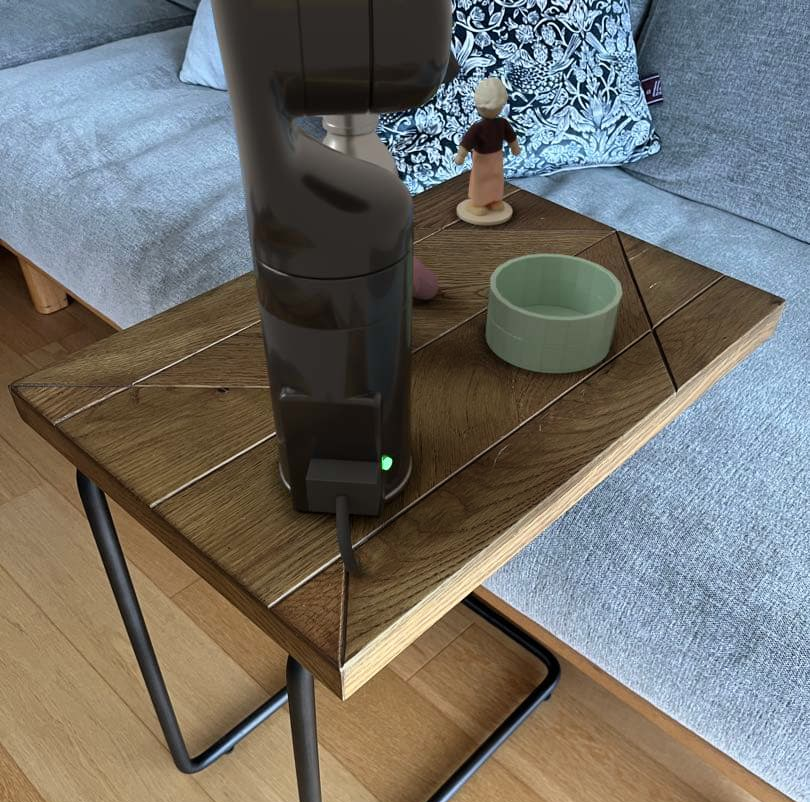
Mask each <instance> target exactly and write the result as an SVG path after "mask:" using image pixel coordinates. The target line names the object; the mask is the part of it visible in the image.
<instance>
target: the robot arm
mask: <svg viewBox="0 0 810 802" xmlns="http://www.w3.org/2000/svg"><path fill="white" fill-rule="evenodd" d="M210 5H211V12H212V18H213V25H214V31H215V35H216V40H217V45H218V50H219V55H220V60H221V65H222V70H223V75H224V80H225V86H226V91H227V95H228V102H229V106H230V111H231V117H232V122H233V123H232V124H233V129H234V134H235V140H236V146H237V152H238V159H239V165H240V173H241V179H242V186H243V187H242V188H243V195H244V202H245V203H244V204H245V210H246V213H245V214H246V220H247V221H246V222H247V228H248V229H247V230H248V231H247V232H248V239H249V246H250V252H251V259H252V266H253V274H254V282H255V288H256V297H257V306H258V312H259V320H260V327H261V335H262V342H263V343H262V344H263V349H264V356H265V364H266V370H267V378H268V386H269V387H268V388H269V392H270V399H271V408H272V415H273V422H274V430H275V437H276V443H277V450H278V451H277V452H278V458H279V465H278V467H279V475H280V480H281V483H282V486H283V487H284V489H285V491H286V492H287V494H288V495H290V499H291V507H292V510H293V511H297V512H310V513H326V514H335V523H336V524H335V525H336V527H335V528H336V537H337V544H338V551H339V554H340V558H341V560H342V563H343V566H344V569H345V571H346V572H348V573H352V572H355V571H356V570H358V569H359V565H358V563H357V559H356V555H355V553H354V549H353V545H352V539H351V529H350V515H356V516H370V517H371V516H372V517H381V516H383V514H384V509H385V506H386V505H387V504H389V503H390V502H392V501H393V500H395V499H396V498H397V497H398V496H400V495H401V494H402V492H403V491H404V490H405V489H406V487H407V486H408V484H409V482H410V480H411V477H412V474H413V473H412V472H413V471H412V470H413V457H412V376H413V375H412V371H413V370H412V367H413V365H412V361H413V298H414V297H413V257H414V249H415V248H414V247H415V246H414V240H415V205H414V201H413V197H412V194H411V191H410V188H408V186H407V185H406V183H405V182H404V181H403V180H402V179H401V178H400V177H399V178H398V177H397V176H396V175H395V174H393V173H392V172H390V171H388V170H387V169H385V168H383V167H380V166H378V165H376V164H373V163H371V162H368V161H365V160H362V159H359V158H356V157H353V156H351V155H348V154H345V153H342V152H340V151H338V150H335V149H333V148H331V147H329V146H327V145H325V144H324V143H322V142H323V141H320V140H319V139H317V138H316V137H315V136H313V135H311V134H310V133H309V132H308V131H306V130H305V129H304V128H303V127H302V126H301V125H300V124H299V123H298V121H297V119H299V118H300V119H301V118H305V117H306V118H323V117H326V116H351V115H366V113H368V114H369V115H370V114H378V115H386V114H387V115H388V114H394V113H399V112H406V111H410V110H414V109H418V108H420V107H423V106H424V105H426V104H428V102H430V101H431V100H432V99H433V98H434V97H435V96H436V95H437V93H438V91H439V90H440V87H441V86H442V84H445V85H448V84H451V83H452V82H454V81H455V79H456V78H457V77H458V76H459V75H460V72H461V69H460V64H459V62H458V59H457V58H456V56H455V54H454V52H453V50H452V41H453V39H452V38H453V28H454V27H455V23H456V22H455V20H454V18H453V3H452V0H210Z"/></svg>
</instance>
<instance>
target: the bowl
mask: <svg viewBox="0 0 810 802" xmlns="http://www.w3.org/2000/svg"><path fill="white" fill-rule="evenodd" d="M623 295H624V293H623V288H622V284H621V281H620V280H619V279H618V278H617V277H616V275H615V274H614V273H613V272H612V271H610V270H609V269H607V268H606V267H604V266H602V265H601V264H598V263H596V262H593V261H591V260H588V259H585V258H582V257H578V256H573V255H568V254H561V253H535V254H534V253H533V254H526V255H522V256H519V257H516V258H511V259H509V260H507V261H505V262H504V263H502V264H500V265H498V266H497V267H496V268H495V270H494V271H493V272H492V274H491V275H490V278H489V287H488V297H487V298H488V299H487V301H488V302H487V310H486V322H485V340H486V343H487V345H488V347H489V349H490V350H491V351H492V352H493V353H494V354H495V355H496V356H497V357H498V358H500V359H502V360H503V361H504V362H506V363H509V364H510V365H513V366H514V367H516V368H520V369H522V370H527V371H531V372H536V373H543V374H569V373H575V372H580V371H584V370H586V369H587V370H588V369H589V368H592V367H593V366H596V365H597V364H599V363H601V362H602V361H603V360H604V359H605V358H606V357H607V356H608V355H609V352H610V350H611V346H612V344H613V341H614V336H615V331H616V326H617V322H618V317H619V312H620V309H621V303H622V300H623Z"/></svg>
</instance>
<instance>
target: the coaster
mask: <svg viewBox="0 0 810 802" xmlns="http://www.w3.org/2000/svg"><path fill="white" fill-rule="evenodd" d="M470 201H471V198H468V199H465V200H463V201H461V202H460V203H458V205H457V206H456V215H457V217H458V218H459V219H461V220H462V221H464V222H466V223H468V224H472V225H477V226H497V225H500V224H504V223H506V222H508V221H510V220H511V218H512V216H513V211H514V209H513V208H512V206H511V205H510V204H509V203H507V202H505V201H503V200H502V202H503V204H504V207H505V209H504V210H501V211H493V210H491V209H490V208H488V207H487V206H486V205H485V207H486V208H487V210H488V214H487V215H484V216H476V215H474V214H472V213H470V212H468V211H466V210H465V207H466V205H467V204H468V203H469V202H470Z"/></svg>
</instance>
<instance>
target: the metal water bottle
mask: <svg viewBox="0 0 810 802" xmlns="http://www.w3.org/2000/svg"><path fill="white" fill-rule="evenodd" d="M321 118H322V119H321V120H322V122H321V123H322V128H323V129H324V130H325V131H326V136H325V137H324V139H322V141H321V142H322V143H324V144H325V145H327V146H329V147H331V148H333V149H335V150H338V151H340V152H342V153H345V154H348V155H351V156H353V157H356V158H359V159H362V160H365V161H368V162H371V163H373V164H376V165H378V166H380V167H383V168H385V169H387V170H388V171H390V172H392V173H393V174H395V175H396V176H397V177H398V178H400V174H399V171H398V168H397V164H396V160H395V158H394V156H393V155H392V154H391V152H390V150H389V149H388V147H387V145H386V144H385V143H384V142H383V140H382V139H381V138H380V137H379V135H378V134H377V131H376V130H377V129H378V128H379V127H380V116H379V114H370V115H369V114H368V113H366V115H351V116H326V117H321Z"/></svg>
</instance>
